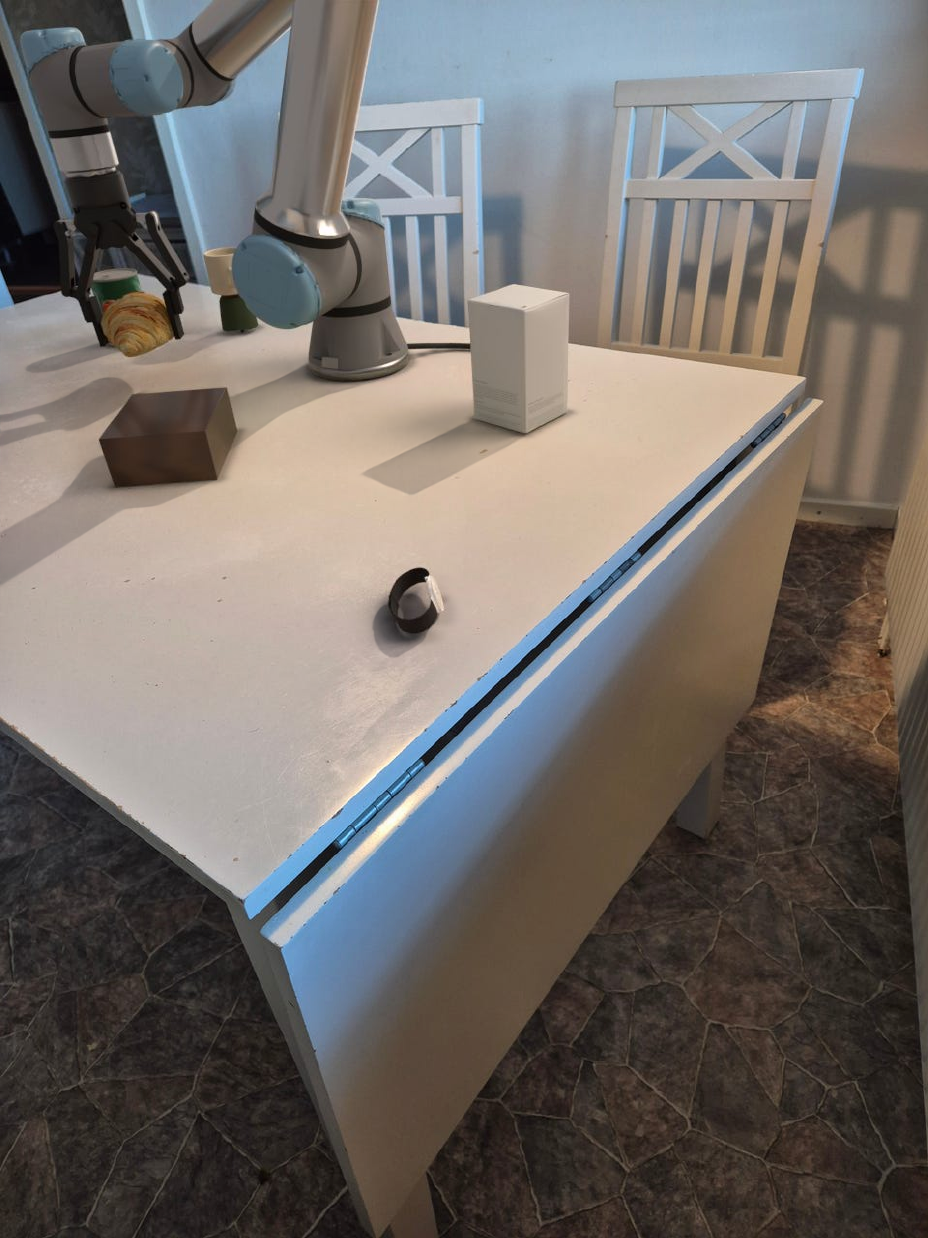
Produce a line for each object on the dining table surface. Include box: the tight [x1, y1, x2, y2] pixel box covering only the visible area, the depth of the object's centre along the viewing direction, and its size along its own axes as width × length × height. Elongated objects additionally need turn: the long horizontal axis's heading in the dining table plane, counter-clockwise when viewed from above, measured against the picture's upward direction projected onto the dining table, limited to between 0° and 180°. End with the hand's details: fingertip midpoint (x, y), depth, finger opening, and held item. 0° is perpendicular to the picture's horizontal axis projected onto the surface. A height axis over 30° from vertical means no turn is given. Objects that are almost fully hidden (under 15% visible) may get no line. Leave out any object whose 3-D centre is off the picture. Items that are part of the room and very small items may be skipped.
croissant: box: [101, 291, 175, 358], centre depth 119 cm, size 21×10×8 cm, turn 11°
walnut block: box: [98, 386, 238, 488], centre depth 98 cm, size 12×14×6 cm
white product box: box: [467, 283, 570, 434], centre depth 100 cm, size 9×9×15 cm
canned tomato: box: [91, 267, 143, 348], centre depth 139 cm, size 8×8×11 cm
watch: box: [388, 567, 444, 635], centre depth 70 cm, size 8×5×4 cm, turn 5°
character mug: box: [202, 246, 260, 333], centre depth 139 cm, size 11×7×13 cm, turn 22°
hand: (142, 340), depth 120 cm, fingers closed on croissant, 10 cm apart
